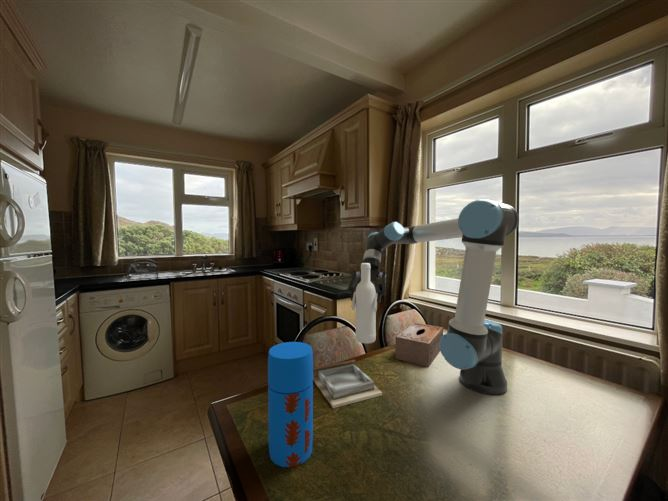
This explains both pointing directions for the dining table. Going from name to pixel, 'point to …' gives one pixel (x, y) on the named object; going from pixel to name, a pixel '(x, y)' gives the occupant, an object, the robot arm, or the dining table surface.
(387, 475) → the dining table surface
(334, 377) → the tray
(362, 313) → the bottle
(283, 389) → the thermos
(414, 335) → the tissue box cover
